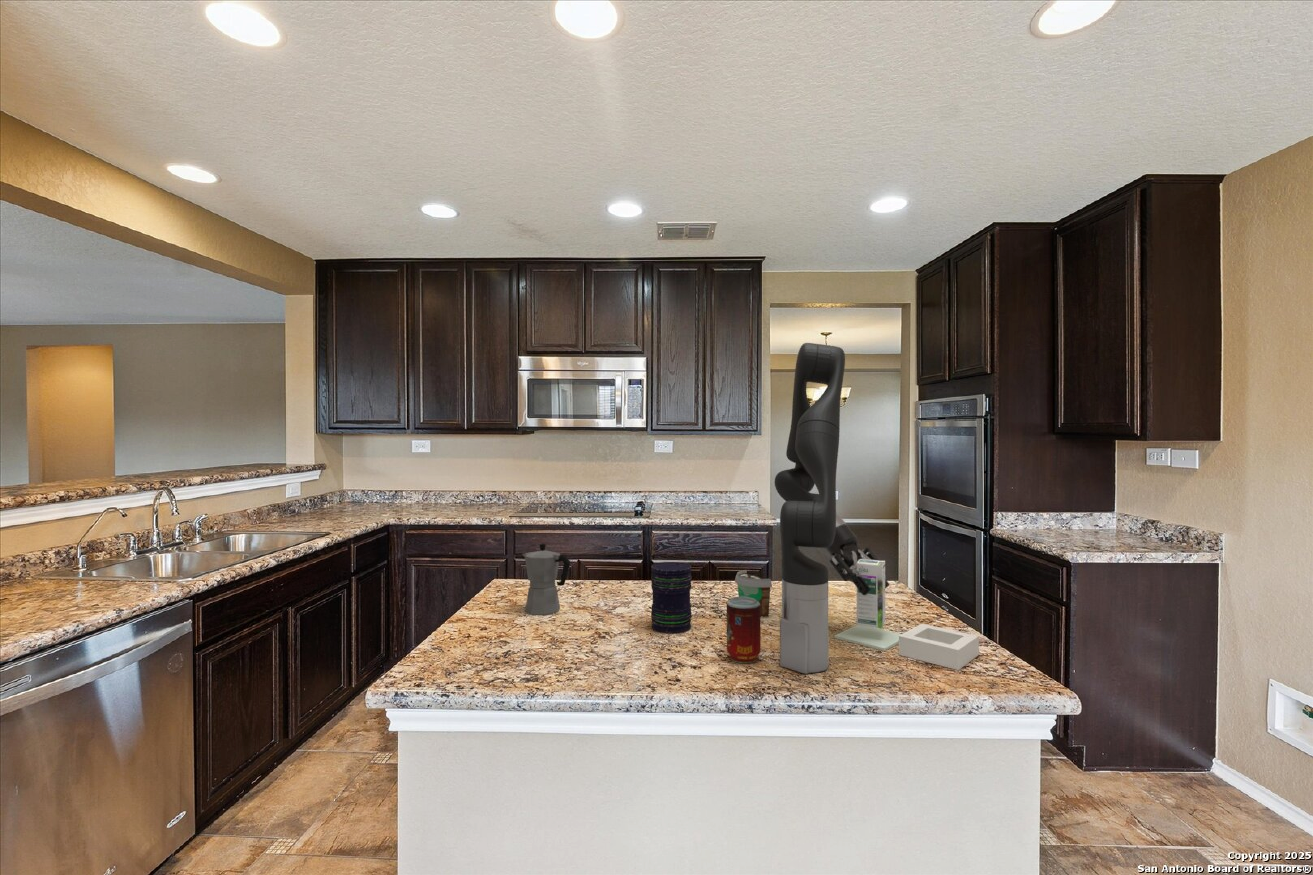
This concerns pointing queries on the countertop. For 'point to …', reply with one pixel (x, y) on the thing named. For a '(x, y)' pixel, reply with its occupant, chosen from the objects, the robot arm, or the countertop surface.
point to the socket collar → (939, 646)
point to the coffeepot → (544, 580)
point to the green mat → (870, 637)
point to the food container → (754, 589)
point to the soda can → (743, 629)
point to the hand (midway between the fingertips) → (877, 590)
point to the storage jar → (671, 597)
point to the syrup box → (871, 594)
